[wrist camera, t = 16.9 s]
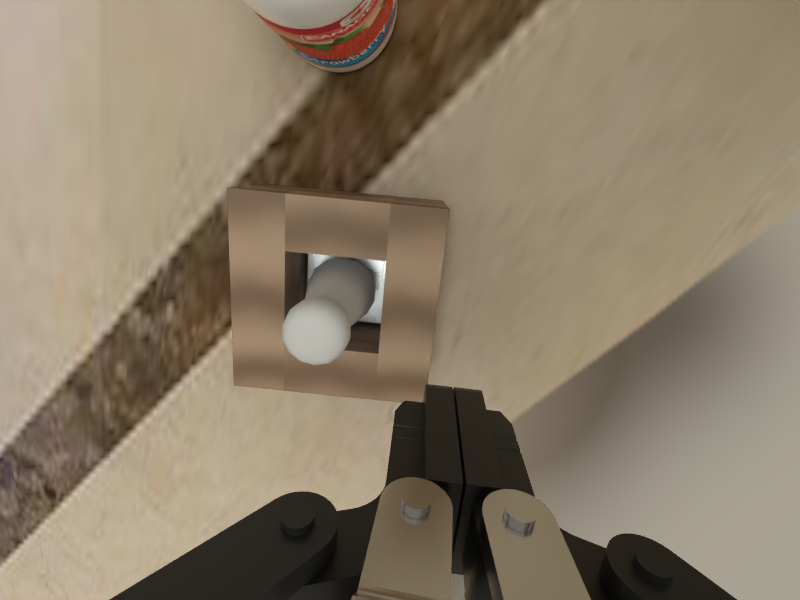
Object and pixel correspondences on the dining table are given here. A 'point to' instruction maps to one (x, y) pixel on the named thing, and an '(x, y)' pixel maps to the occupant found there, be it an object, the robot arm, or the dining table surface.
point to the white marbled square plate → (376, 273)
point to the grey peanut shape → (328, 311)
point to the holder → (288, 279)
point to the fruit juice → (331, 29)
